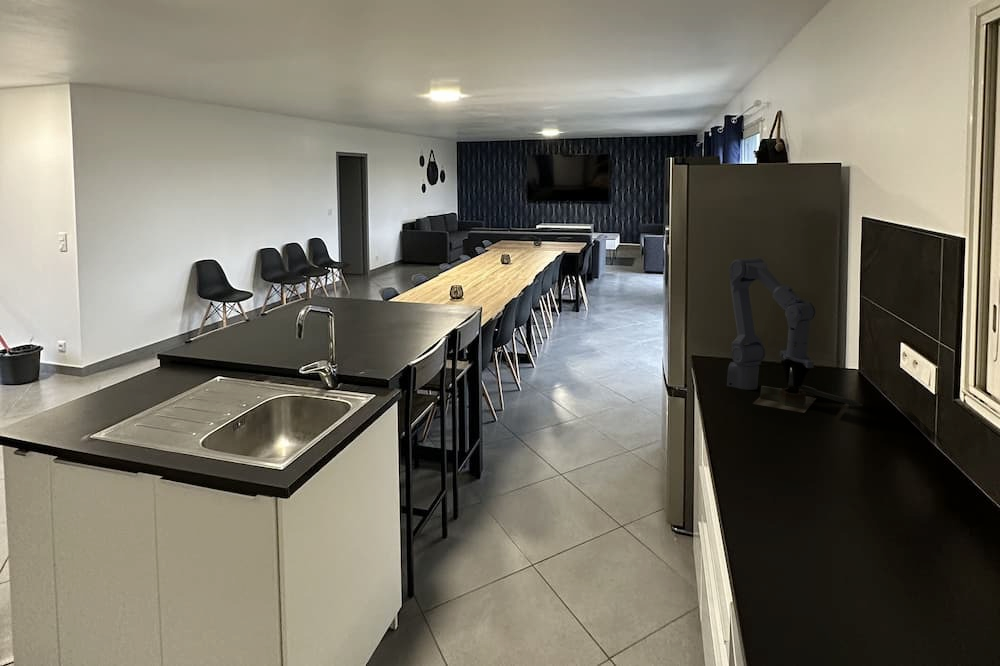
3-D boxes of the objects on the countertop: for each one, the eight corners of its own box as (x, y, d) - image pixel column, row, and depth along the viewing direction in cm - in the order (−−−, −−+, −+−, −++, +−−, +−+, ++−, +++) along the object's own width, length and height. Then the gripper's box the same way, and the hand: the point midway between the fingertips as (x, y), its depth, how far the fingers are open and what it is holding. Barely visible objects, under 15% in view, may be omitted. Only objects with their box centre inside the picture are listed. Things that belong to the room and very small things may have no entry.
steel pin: (785, 391, 201) (787, 366, 199) (795, 390, 201) (797, 365, 200) (791, 394, 198) (792, 368, 197) (800, 393, 199) (802, 368, 197)
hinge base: (752, 406, 201) (753, 391, 200) (767, 392, 215) (768, 378, 213) (804, 415, 192) (805, 399, 191) (816, 401, 206) (817, 385, 205)
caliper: (789, 399, 207) (790, 380, 205) (789, 398, 208) (791, 379, 206) (862, 407, 198) (864, 387, 196) (862, 406, 199) (864, 386, 197)
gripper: (772, 337, 203) (769, 378, 206) (799, 347, 189) (795, 392, 192) (793, 336, 204) (789, 377, 207) (821, 346, 190) (817, 391, 193)
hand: (794, 384), depth 199 cm, fingers closed on steel pin, 3 cm apart
